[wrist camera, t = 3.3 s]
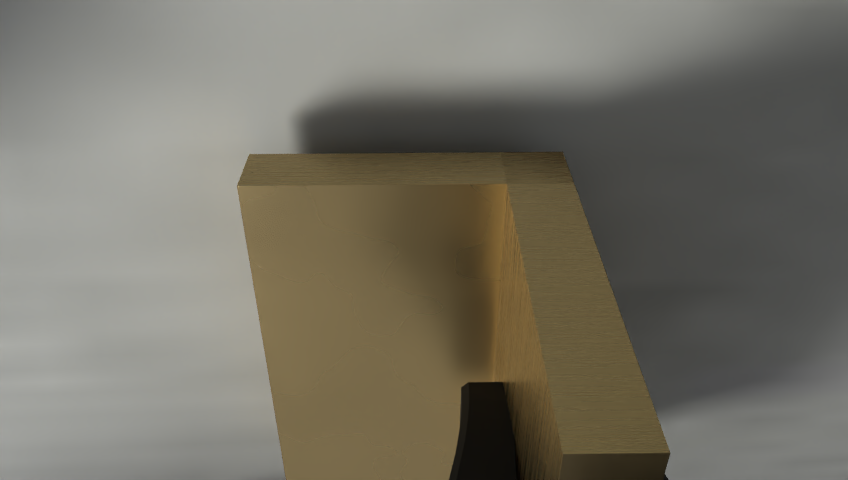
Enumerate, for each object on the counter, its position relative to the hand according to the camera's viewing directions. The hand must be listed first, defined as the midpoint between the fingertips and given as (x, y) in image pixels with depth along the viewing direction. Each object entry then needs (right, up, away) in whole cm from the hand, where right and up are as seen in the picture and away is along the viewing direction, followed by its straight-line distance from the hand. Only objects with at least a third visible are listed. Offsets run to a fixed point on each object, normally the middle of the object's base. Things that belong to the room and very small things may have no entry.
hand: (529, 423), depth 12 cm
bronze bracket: (-2, +1, +2) cm, 3 cm away
